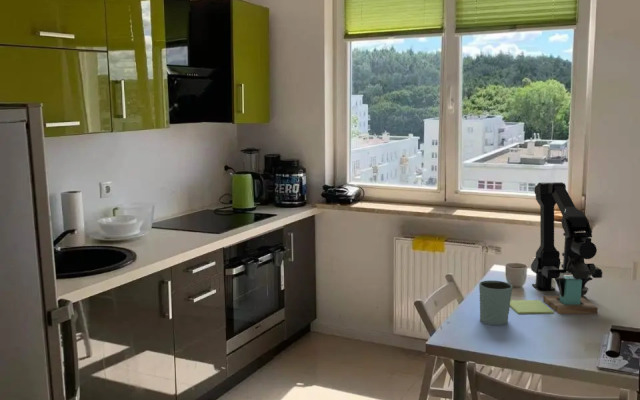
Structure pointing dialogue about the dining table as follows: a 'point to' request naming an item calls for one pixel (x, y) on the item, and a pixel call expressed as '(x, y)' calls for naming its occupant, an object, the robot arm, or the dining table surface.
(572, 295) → the teal peg
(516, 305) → the olive mat
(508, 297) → the green cup
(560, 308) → the frame
